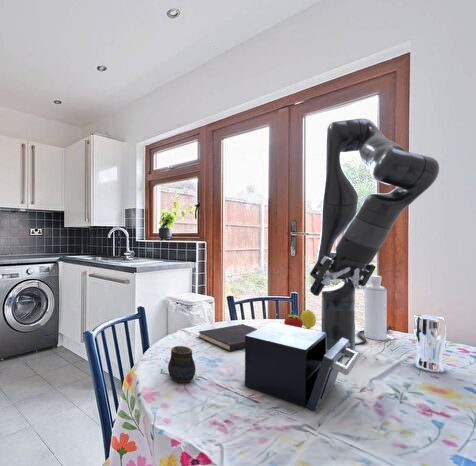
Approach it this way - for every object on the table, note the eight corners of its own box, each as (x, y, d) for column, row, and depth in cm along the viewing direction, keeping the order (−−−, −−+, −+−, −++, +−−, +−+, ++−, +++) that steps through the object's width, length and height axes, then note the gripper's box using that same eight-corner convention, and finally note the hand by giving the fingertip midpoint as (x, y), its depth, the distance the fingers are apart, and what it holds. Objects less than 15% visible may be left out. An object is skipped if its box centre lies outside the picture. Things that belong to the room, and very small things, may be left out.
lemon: (318, 331, 127) (318, 311, 127) (303, 330, 128) (303, 310, 128) (312, 327, 133) (312, 308, 133) (298, 326, 134) (298, 307, 134)
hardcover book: (198, 337, 118) (198, 331, 118) (242, 329, 129) (242, 324, 129) (230, 351, 104) (230, 344, 104) (277, 341, 114) (277, 335, 114)
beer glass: (406, 363, 96) (406, 314, 96) (427, 363, 96) (427, 313, 96) (430, 373, 89) (430, 320, 89) (453, 373, 89) (453, 320, 89)
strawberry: (306, 337, 120) (306, 311, 120) (295, 340, 115) (295, 313, 116) (291, 333, 125) (291, 307, 125) (280, 336, 120) (280, 310, 120)
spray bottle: (368, 339, 118) (369, 272, 118) (361, 333, 124) (361, 270, 124) (390, 341, 116) (390, 273, 116) (381, 335, 122) (381, 271, 122)
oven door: (348, 391, 80) (364, 346, 78) (331, 421, 67) (349, 368, 65) (327, 380, 83) (342, 337, 81) (306, 407, 70) (323, 355, 68)
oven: (326, 381, 83) (326, 332, 83) (305, 408, 71) (305, 350, 71) (271, 365, 93) (271, 321, 93) (244, 386, 80) (245, 335, 81)
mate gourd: (197, 375, 86) (197, 339, 86) (193, 388, 79) (193, 348, 79) (170, 371, 89) (171, 336, 89) (165, 383, 82) (165, 345, 82)
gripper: (373, 235, 77) (340, 288, 84) (325, 227, 74) (294, 283, 81) (401, 251, 70) (362, 307, 77) (348, 243, 67) (313, 302, 74)
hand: (328, 295), depth 79 cm, fingers open, 8 cm apart
